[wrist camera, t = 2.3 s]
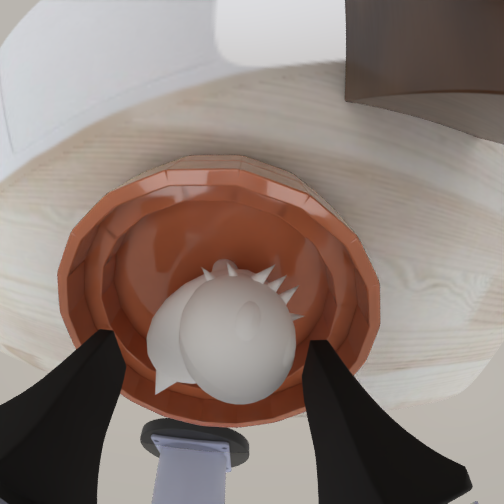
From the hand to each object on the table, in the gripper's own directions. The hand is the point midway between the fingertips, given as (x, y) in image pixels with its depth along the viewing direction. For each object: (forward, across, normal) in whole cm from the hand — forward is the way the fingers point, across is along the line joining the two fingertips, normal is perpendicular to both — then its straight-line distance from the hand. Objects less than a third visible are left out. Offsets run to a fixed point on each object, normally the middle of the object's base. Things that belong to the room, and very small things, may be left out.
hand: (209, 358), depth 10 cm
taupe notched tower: (+4, -9, -13) cm, 16 cm away
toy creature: (+4, 0, 0) cm, 4 cm away
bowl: (+4, 0, 0) cm, 4 cm away
